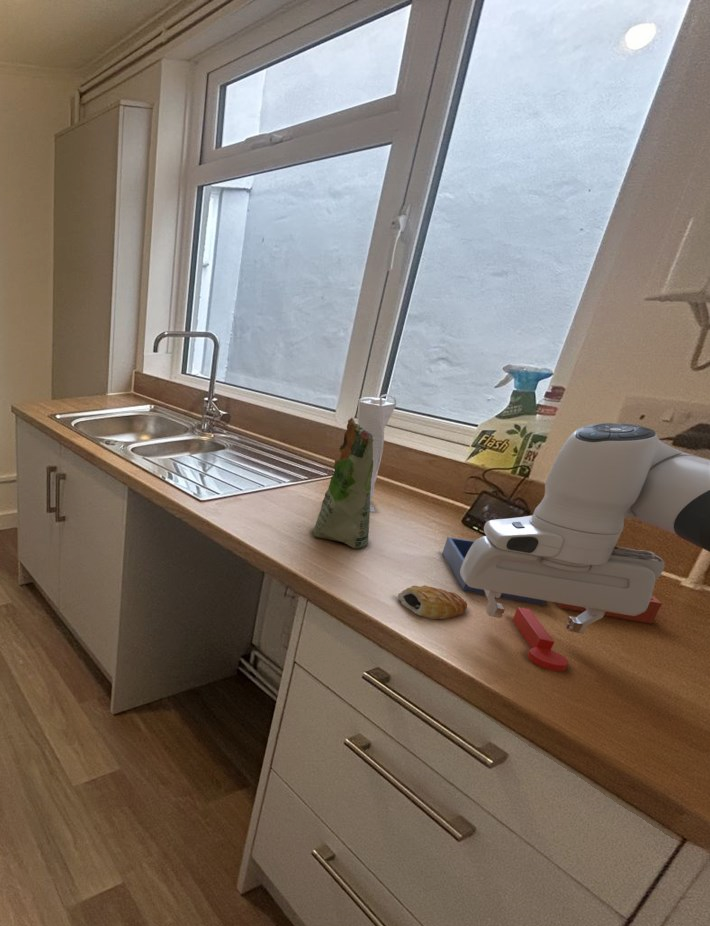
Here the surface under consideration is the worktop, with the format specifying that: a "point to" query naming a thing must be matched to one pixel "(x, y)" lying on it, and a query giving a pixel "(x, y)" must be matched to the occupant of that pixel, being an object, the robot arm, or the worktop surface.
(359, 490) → the pouch
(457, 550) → the blue bin
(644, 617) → the red bin
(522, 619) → the red spoon
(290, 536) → the worktop surface
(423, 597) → the pastry
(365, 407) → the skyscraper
